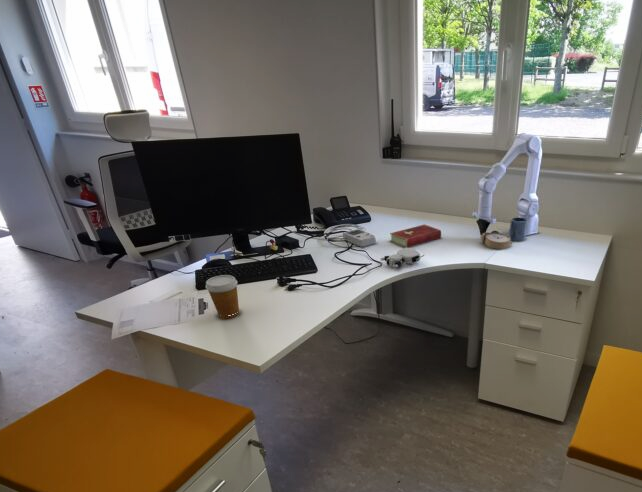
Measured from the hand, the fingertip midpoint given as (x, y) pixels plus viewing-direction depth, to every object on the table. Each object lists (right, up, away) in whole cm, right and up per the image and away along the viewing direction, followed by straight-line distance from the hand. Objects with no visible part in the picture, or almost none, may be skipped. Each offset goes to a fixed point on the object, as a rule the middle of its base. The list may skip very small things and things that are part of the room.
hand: (482, 235), depth 212 cm
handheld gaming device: (-57, -4, -2) cm, 57 cm away
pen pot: (+16, -1, +1) cm, 16 cm away
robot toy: (-37, -18, -25) cm, 48 cm away
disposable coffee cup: (-93, -42, -63) cm, 120 cm away
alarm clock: (+5, -5, -5) cm, 9 cm away
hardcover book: (-31, -2, 0) cm, 31 cm away
